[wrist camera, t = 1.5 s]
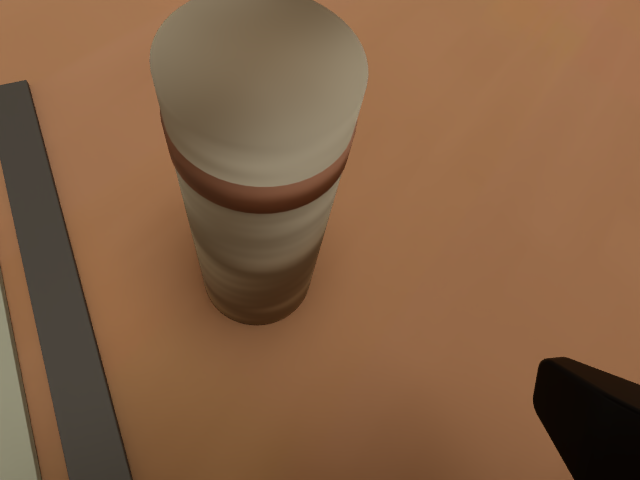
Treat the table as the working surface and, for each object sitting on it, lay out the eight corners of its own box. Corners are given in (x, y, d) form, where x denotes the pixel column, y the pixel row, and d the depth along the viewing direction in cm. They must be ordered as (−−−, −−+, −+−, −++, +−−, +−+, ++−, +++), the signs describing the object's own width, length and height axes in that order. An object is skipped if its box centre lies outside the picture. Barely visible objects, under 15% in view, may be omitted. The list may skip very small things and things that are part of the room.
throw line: (208, 767, 15) (207, 772, 14) (143, 810, 14) (141, 816, 14) (28, 84, 26) (26, 80, 25) (-12, 92, 25) (-15, 88, 25)
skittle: (326, 249, 23) (395, 28, 12) (287, 343, 21) (327, 181, 10) (231, 212, 24) (210, -39, 12) (183, 301, 21) (101, 94, 10)
